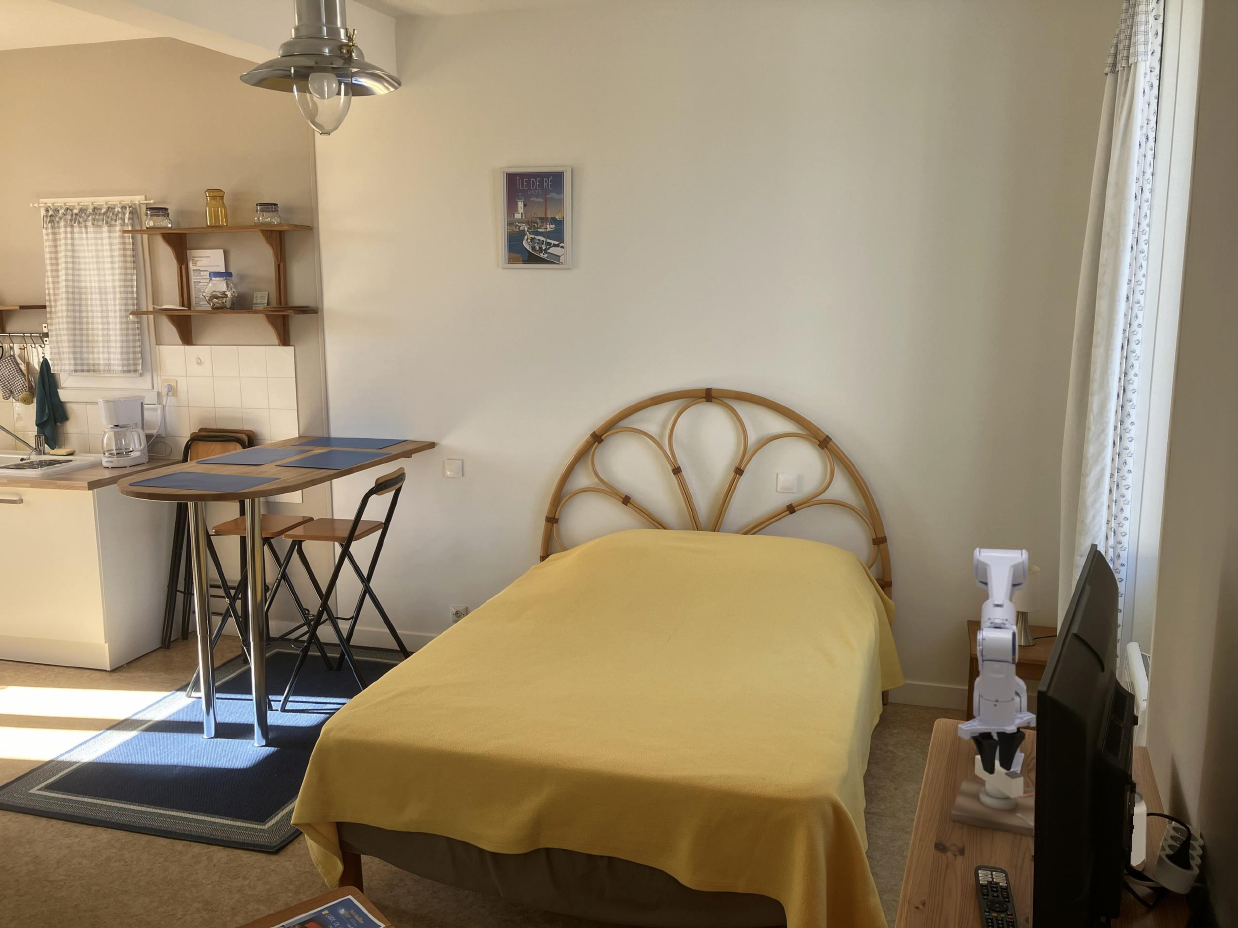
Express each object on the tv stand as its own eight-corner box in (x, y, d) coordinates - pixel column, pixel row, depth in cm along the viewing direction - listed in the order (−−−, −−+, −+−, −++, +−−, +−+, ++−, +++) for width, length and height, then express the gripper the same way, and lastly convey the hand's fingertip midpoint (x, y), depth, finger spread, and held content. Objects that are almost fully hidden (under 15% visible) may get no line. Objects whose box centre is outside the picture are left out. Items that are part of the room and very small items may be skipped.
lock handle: (970, 782, 176) (970, 755, 176) (990, 778, 178) (990, 751, 177) (1006, 806, 167) (1007, 778, 166) (1027, 802, 168) (1028, 773, 167)
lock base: (964, 784, 182) (964, 769, 182) (1043, 797, 176) (1044, 782, 175) (951, 820, 169) (951, 804, 169) (1036, 837, 163) (1036, 820, 162)
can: (1150, 876, 150) (1152, 805, 148) (1106, 874, 151) (1107, 802, 149) (1137, 854, 156) (1139, 785, 154) (1094, 852, 157) (1096, 783, 156)
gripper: (976, 710, 159) (976, 787, 161) (1048, 697, 163) (1047, 772, 165) (950, 696, 166) (950, 769, 167) (1020, 683, 170) (1019, 755, 171)
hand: (996, 770), depth 167 cm, fingers open, 3 cm apart
